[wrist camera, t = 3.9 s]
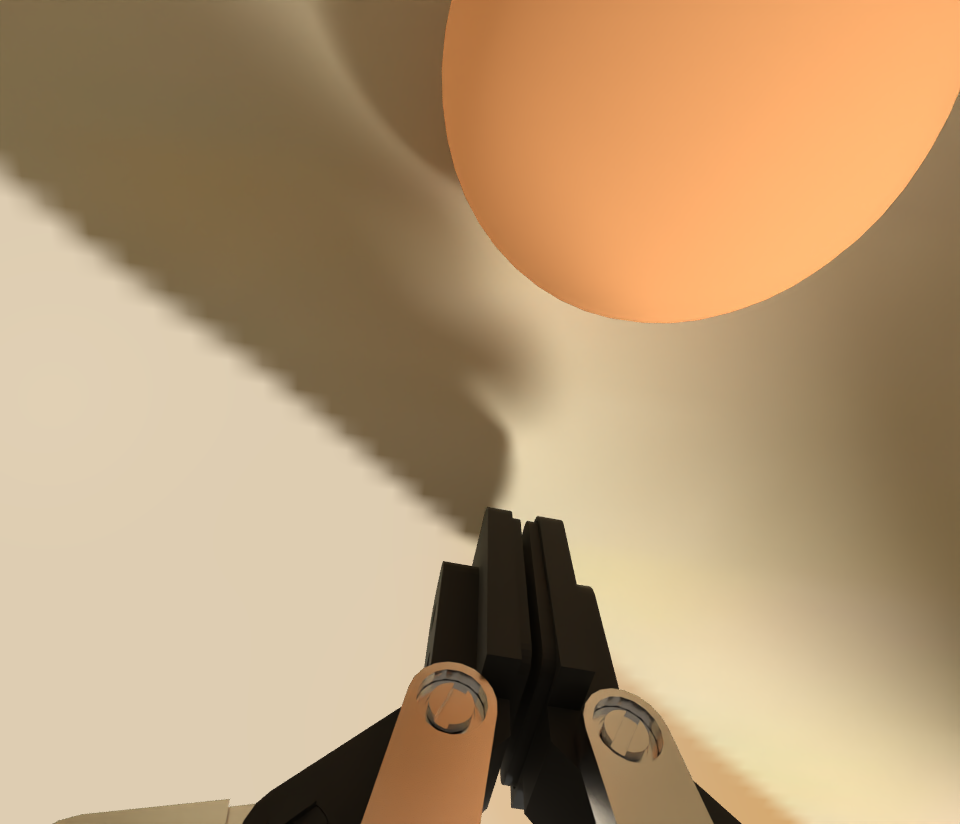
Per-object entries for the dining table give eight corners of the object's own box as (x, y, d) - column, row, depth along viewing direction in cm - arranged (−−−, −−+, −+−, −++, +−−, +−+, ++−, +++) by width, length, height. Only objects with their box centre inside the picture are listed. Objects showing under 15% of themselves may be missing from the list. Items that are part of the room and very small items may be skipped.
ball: (715, 312, 11) (937, 436, 6) (431, 250, 11) (366, 316, 5) (851, -42, 9) (1455, -429, 3) (495, -136, 8) (501, -748, 3)
